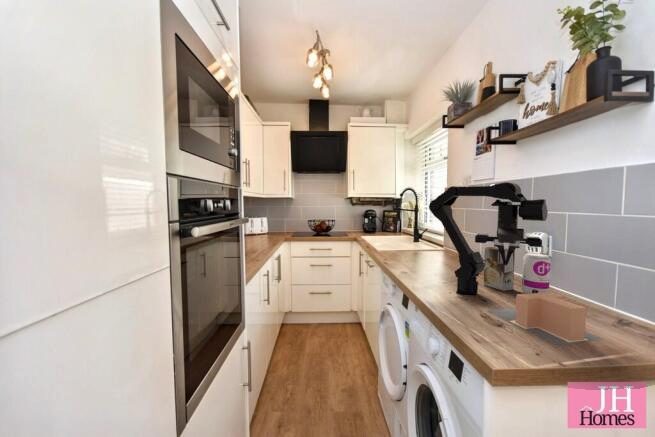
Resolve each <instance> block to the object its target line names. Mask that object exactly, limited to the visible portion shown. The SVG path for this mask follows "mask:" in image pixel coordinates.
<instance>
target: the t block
mask: <svg viewBox="0 0 655 437" xmlns="http://www.w3.org/2000/svg"><path fill="white" fill-rule="evenodd" d="M515 298H516V301H515V303H516V304H515V308H516V318H515V323H517V324H520V325H522V326H524V327H526V328H532V327H540V328H542V329H544V330H546V331H548V332H551V333H553V334H555V335H557V336H559V337H562V338H564V339H566V340H568V341H577V340H584V338H585V332H586V319H587V318H586V317H587V307H585V306H582V305H579V304H576V303H573V302H569V301H567V300H565V299H564V298H565V295H562V294H558V293H555V292H552V291H549V292H545V293H531V294H526V293H520V294H519V293H518V294H516V297H515Z"/></svg>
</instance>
